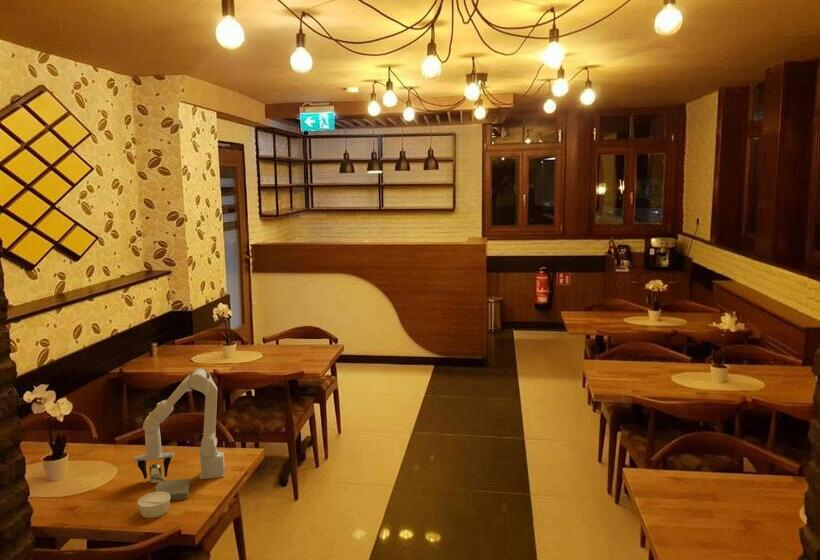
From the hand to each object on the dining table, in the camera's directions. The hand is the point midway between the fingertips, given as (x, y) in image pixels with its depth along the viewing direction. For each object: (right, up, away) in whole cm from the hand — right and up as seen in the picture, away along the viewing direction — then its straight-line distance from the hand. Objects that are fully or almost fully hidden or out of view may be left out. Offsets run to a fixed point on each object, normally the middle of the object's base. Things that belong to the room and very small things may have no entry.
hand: (155, 476), depth 258 cm
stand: (+11, -3, -11) cm, 15 cm away
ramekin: (+9, -6, -24) cm, 27 cm away
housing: (0, -1, 0) cm, 2 cm away
